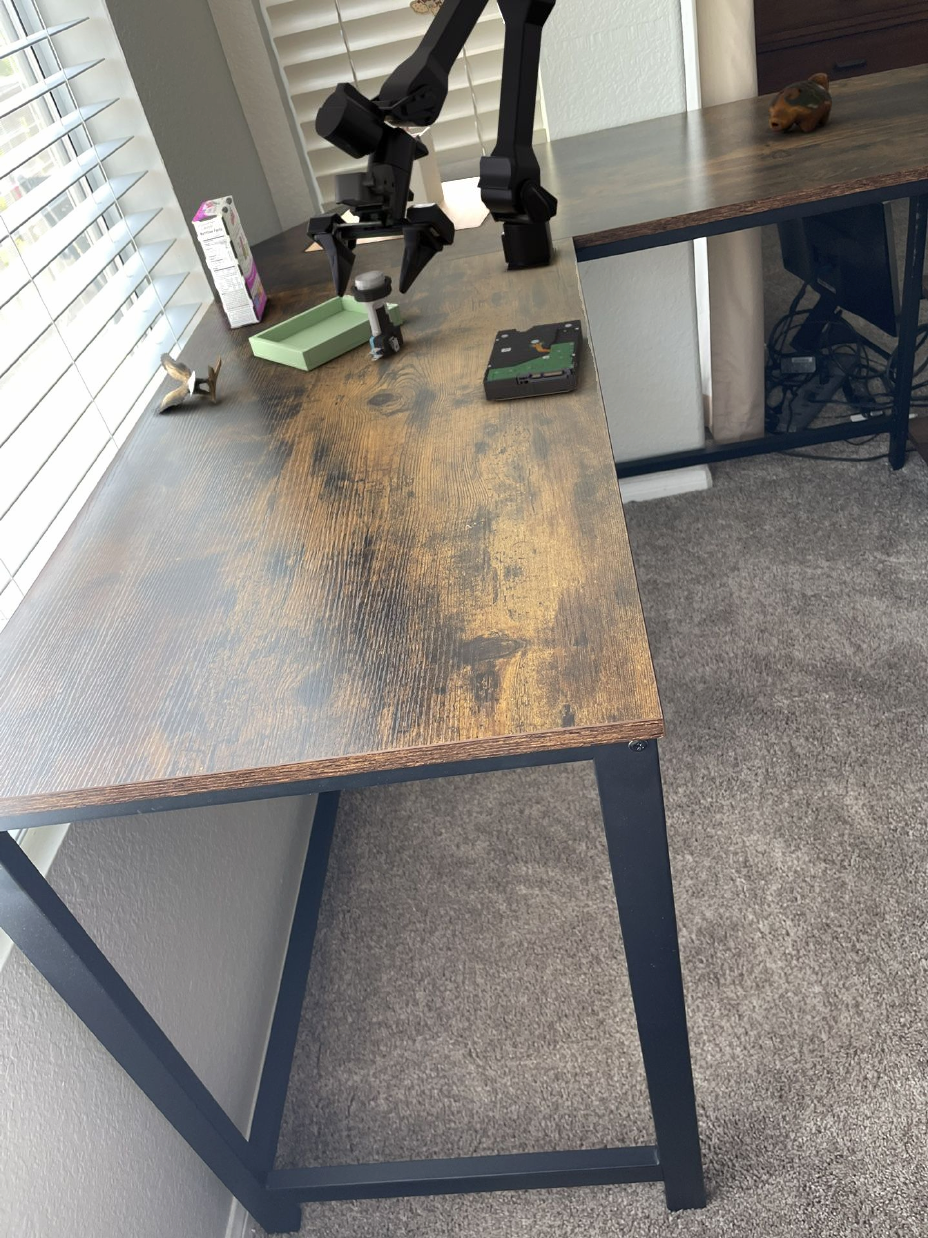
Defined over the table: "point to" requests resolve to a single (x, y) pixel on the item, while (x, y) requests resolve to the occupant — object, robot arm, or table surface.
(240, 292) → the candy bar box
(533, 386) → the disk drive
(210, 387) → the eagle figurine
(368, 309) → the push button
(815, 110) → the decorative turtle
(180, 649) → the table surface
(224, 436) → the table surface
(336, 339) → the tray
